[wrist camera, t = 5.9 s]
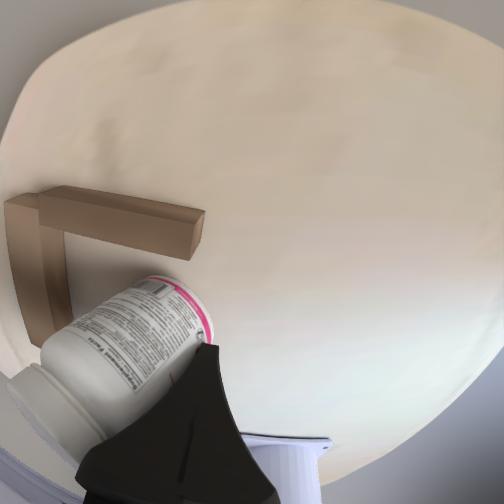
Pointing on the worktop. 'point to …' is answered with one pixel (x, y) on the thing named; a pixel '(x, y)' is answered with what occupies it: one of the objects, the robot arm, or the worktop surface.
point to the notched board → (90, 225)
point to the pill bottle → (111, 365)
